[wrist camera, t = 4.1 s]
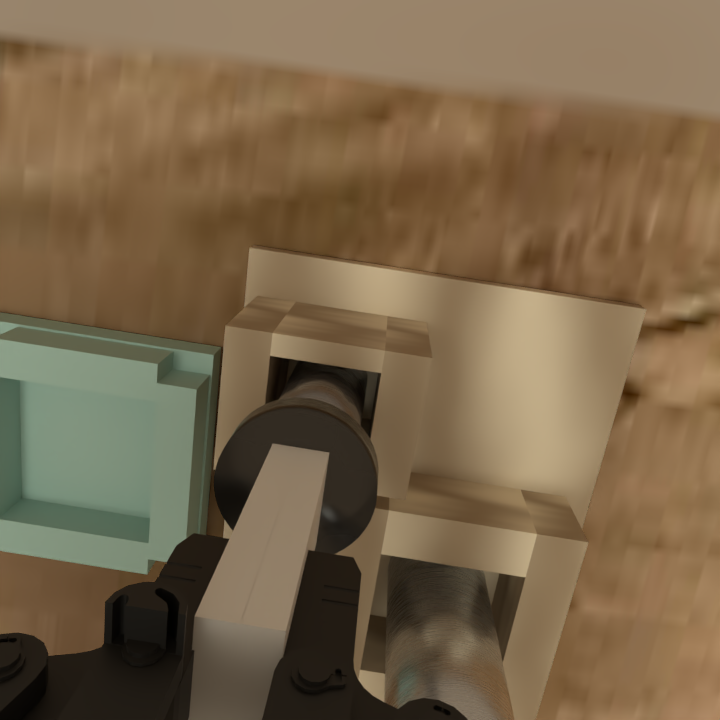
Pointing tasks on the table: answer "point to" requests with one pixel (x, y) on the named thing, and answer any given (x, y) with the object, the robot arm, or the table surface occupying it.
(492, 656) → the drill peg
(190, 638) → the robot arm
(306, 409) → the black mushroom head peg
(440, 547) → the socket block
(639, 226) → the table surface
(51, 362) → the tray
